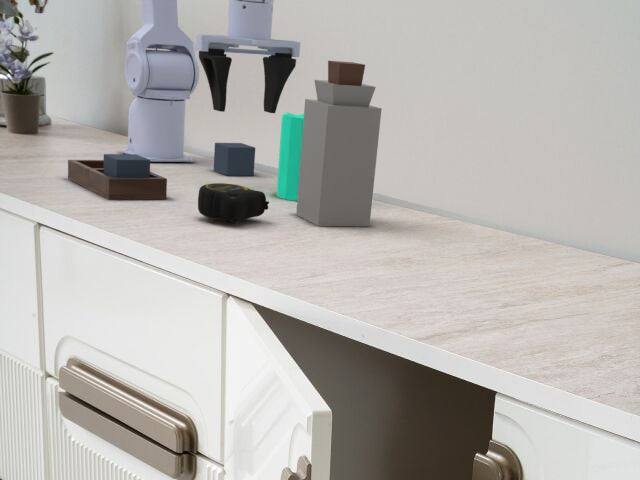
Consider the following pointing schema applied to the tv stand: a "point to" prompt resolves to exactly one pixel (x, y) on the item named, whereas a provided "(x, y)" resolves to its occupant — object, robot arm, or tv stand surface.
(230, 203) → the tape measure
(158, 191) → the holder
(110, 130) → the tv stand surface
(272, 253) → the tv stand surface
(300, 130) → the candle
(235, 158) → the slate blue cube
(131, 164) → the dark blue cube
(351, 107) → the perfume bottle
